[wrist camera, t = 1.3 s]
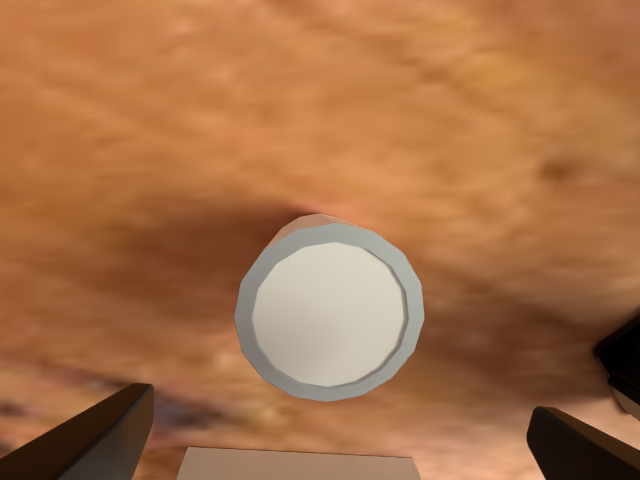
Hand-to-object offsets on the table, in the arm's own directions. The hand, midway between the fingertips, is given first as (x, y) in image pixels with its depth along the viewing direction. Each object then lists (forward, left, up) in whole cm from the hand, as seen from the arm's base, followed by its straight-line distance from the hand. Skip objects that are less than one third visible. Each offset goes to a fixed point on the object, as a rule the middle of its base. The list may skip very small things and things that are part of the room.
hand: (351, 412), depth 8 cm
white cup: (0, 0, -12) cm, 12 cm away
